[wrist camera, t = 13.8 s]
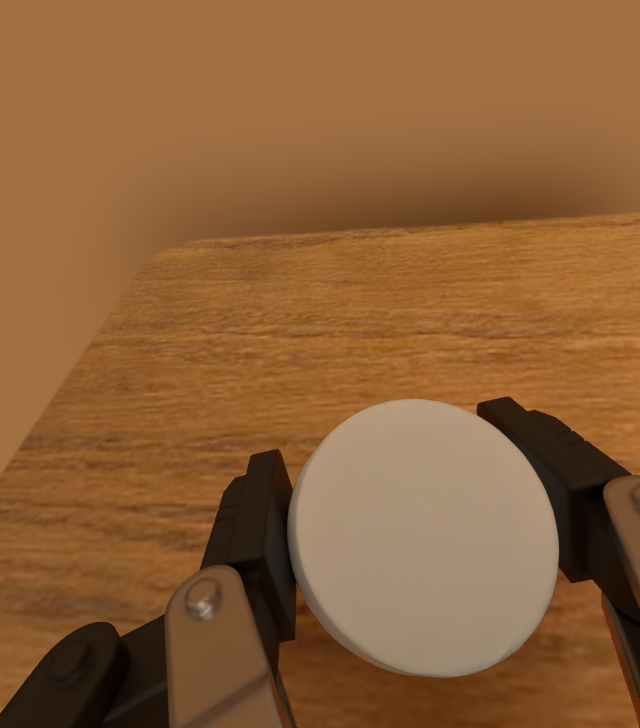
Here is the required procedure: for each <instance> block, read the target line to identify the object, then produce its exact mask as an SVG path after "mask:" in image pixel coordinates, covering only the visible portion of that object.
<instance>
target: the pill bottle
mask: <svg viewBox="0 0 640 728" xmlns="http://www.w3.org/2000/svg"><path fill="white" fill-rule="evenodd" d="M287 543H288V551H289V557H290V561H291V566H292V570H293V573H294V576H295V579H296V582H297V584H298V587H299V589H300V591H301V593H302V596H303V598H304V599H305V601H306V603H307V605H308V606H309V608H310V610H311V611H312V613H313V614H314V616H315V617H316V618H317V620H318V621H319V622H320V624H321V625H322V626H323V627H324V628H325V630H326V631H327V632H328V633H329V634H330V635H331V636H332V637H333V638H334V639H335V640H336V641H337V642H338V643H340V644H341V645H342V646H344V647H345V648H346V649H348V650H349V651H350V652H352V653H353V654H355V655H357V656H358V657H360V658H361V659H363V660H365V661H367V662H369V663H371V664H373V665H375V666H377V667H379V668H382V669H385V670H388V671H391V672H394V673H398V674H403V675H413V676H425V677H434V678H454V677H462V676H466V675H470V674H473V673H477V672H480V671H482V670H485V669H487V668H489V667H491V666H493V665H496V664H497V663H499V662H501V661H503V660H504V659H506V658H507V657H509V656H510V655H512V654H513V653H514V652H516V651H517V650H518V649H519V648H520V647H521V646H522V645H523V644H524V643H525V641H526V640H527V639H528V638H529V637H530V636H531V635H532V633H533V632H534V631H535V629H536V628H537V626H538V625H539V624H540V622H541V620H542V618H543V616H544V614H545V612H546V610H547V608H548V606H549V603H550V601H551V598H552V595H553V592H554V590H555V584H556V579H557V573H558V561H559V541H558V533H557V527H556V522H555V517H554V512H553V509H552V506H551V504H550V501H549V498H548V495H547V493H546V490H545V488H544V486H543V484H542V482H541V481H540V479H539V477H538V475H537V474H536V472H535V470H534V469H533V467H532V466H531V464H530V463H529V461H528V460H527V458H526V457H525V456H524V454H523V453H522V452H521V451H520V450H519V449H518V448H517V447H516V446H515V445H514V444H513V443H512V442H511V441H510V440H509V439H508V438H507V437H506V436H505V435H504V434H503V433H502V432H501V431H500V430H498V429H497V428H496V427H494V426H493V425H491V424H490V423H489V422H487V421H485V420H484V419H482V418H480V417H479V416H477V415H475V414H473V413H471V412H468V411H466V410H464V409H462V408H459V407H456V406H454V405H450V404H447V403H443V402H438V401H432V400H424V399H400V400H392V401H386V402H383V403H380V404H376V405H373V406H370V407H368V408H366V409H364V410H362V411H360V412H358V413H356V414H354V415H353V416H351V417H350V418H348V419H347V420H345V421H344V422H342V423H341V424H340V425H339V426H337V427H336V428H335V429H334V430H333V431H332V432H331V433H330V434H329V435H328V436H327V437H326V438H325V439H324V441H323V442H322V443H321V444H320V445H319V446H318V447H317V448H316V449H315V451H314V452H313V453H312V454H311V456H310V457H309V459H308V460H307V462H306V463H305V465H304V467H303V469H302V471H301V472H300V474H299V477H298V479H297V481H296V484H295V487H294V490H293V493H292V496H291V501H290V505H289V511H288V519H287Z"/></svg>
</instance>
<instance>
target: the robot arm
mask: <svg viewBox="0 0 640 728" xmlns="http://www.w3.org/2000/svg"><path fill="white" fill-rule="evenodd" d="M477 416H479V417H480V418H482V419H484V420H485V421H487V422H489V423H490V424H491V425H493V426H494V427H496V428H497V429H498V430H500V431H501V432H502V433H503V434H504V435H505V436H506V437H507V438H508V439H509V440H510V441H511V442H512V443H513V444H514V445H515V446H516V447H517V448H518V449H519V450H520V451H521V452H522V453H523V454H524V456H525V457H526V458H527V460H528V461H529V463H530V464H531V466H532V467H533V469H534V470H535V472H536V474H537V475H538V477H539V479H540V481H541V482H542V484H543V486H544V488H545V490H546V493H547V495H548V498H549V501H550V504H551V506H552V509H553V512H554V517H555V522H556V527H557V533H558V541H559V561H558V566H559V568H560V569H561V570H562V572H563V573H564V574H565V576H566V577H567V578H568V580H569V581H570V582H571V583H576V582H581V581H586V580H591V579H593V581H594V582H595V583H596V584H597V586H598V587H599V588H600V589H601V605H602V609H603V612H604V615H605V618H606V622H607V625H608V628H609V631H610V634H611V637H612V640H613V643H614V647H615V650H616V653H617V656H618V659H619V662H620V665H621V668H622V671H623V675H624V678H625V681H626V684H627V687H628V690H629V693H630V696H631V700H632V703H633V706H634V709H635V712H636V716H637V719H638V723H639V728H640V475H632V474H631V473H630V472H628V471H627V470H626V469H624V468H623V467H621V466H620V465H619V464H617V463H616V462H615V461H613V460H612V459H611V458H609V457H608V456H607V455H605V454H604V453H603V452H601V451H600V450H599V449H597V448H596V447H595V446H593V445H592V444H591V443H589V442H588V441H584V439H583V438H582V437H581V436H580V435H578V434H577V433H576V432H574V431H571V429H570V428H569V427H568V426H566V425H565V424H564V423H562V422H561V421H560V420H558V419H557V418H556V417H553V416H550V415H547V414H545V413H542V412H539V411H536V410H532V411H526V410H525V409H524V408H523V407H521V406H520V405H519V404H518V403H516V402H515V401H514V400H513V399H511V398H510V397H502V398H498V399H494V400H489V401H485V402H481V403H478V405H477ZM292 493H293V489H292V486H291V483H290V480H289V477H288V473H287V470H286V467H285V464H284V461H283V458H282V455H281V452H280V451H279V449H274V450H270V451H266V452H261V453H257V454H253V455H251V457H250V460H249V464H248V468H247V473H246V475H244V476H240V477H235V479H234V480H233V481H232V482H231V484H230V485H229V486H228V487H227V489H226V490H225V491H224V493H223V496H222V499H221V503H220V506H219V510H218V512H217V515H216V519H215V523H214V525H213V528H212V531H211V535H210V538H209V541H208V544H207V548H206V551H205V554H204V557H203V560H202V564H201V567H200V570H199V571H198V572H196V573H195V574H193V575H192V576H190V577H189V578H188V579H186V580H185V581H184V582H183V583H182V584H181V585H180V586H179V587H178V588H177V590H176V591H175V592H174V594H173V595H172V597H171V598H170V600H169V602H168V605H167V607H166V611H165V614H164V615H162V616H160V617H158V618H157V619H155V620H153V621H151V622H149V623H147V624H145V625H143V626H141V627H139V628H137V629H135V630H133V631H131V632H129V633H127V634H125V635H124V636H122V637H120V636H119V634H118V632H117V631H116V629H115V627H114V626H113V625H112V624H110V623H107V622H95V623H91V624H88V625H85V626H83V627H81V628H79V629H77V630H75V631H74V632H72V633H71V634H69V635H67V636H66V637H65V638H64V639H62V640H61V641H60V642H59V643H57V644H56V645H55V646H54V647H53V648H52V649H51V650H50V651H49V652H48V653H47V654H46V655H45V656H44V657H43V659H42V660H41V661H40V662H39V664H38V665H37V666H36V667H35V669H34V670H33V671H32V673H31V674H30V675H29V677H28V678H27V679H26V681H25V682H24V683H23V684H22V686H21V687H20V688H19V690H18V691H17V692H16V694H15V695H14V696H13V698H12V699H11V700H10V702H9V703H8V704H7V705H6V707H5V708H4V709H3V711H2V712H1V713H0V728H298V725H297V722H296V719H295V716H294V713H293V710H292V707H291V704H290V700H289V697H288V694H287V691H286V688H285V685H284V682H283V679H282V676H281V673H280V671H279V669H278V659H279V643H281V642H285V641H290V640H295V622H296V579H295V576H294V573H293V570H292V566H291V561H290V557H289V551H288V543H287V519H288V511H289V505H290V501H291V496H292Z"/></svg>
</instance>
